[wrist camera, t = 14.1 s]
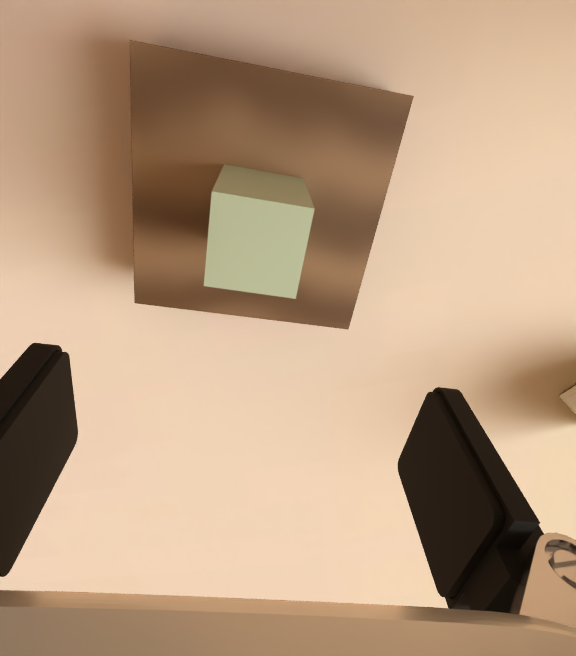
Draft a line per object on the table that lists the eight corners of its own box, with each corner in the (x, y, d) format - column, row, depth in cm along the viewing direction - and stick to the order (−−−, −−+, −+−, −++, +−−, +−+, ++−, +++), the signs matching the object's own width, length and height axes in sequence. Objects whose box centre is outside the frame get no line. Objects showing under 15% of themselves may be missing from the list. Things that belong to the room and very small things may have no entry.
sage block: (224, 164, 26) (211, 191, 20) (303, 178, 27) (314, 208, 21) (216, 241, 28) (203, 285, 23) (289, 252, 29) (295, 298, 23)
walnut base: (151, 45, 27) (129, 40, 23) (391, 93, 29) (413, 96, 25) (150, 274, 35) (134, 303, 31) (338, 299, 37) (348, 329, 33)
